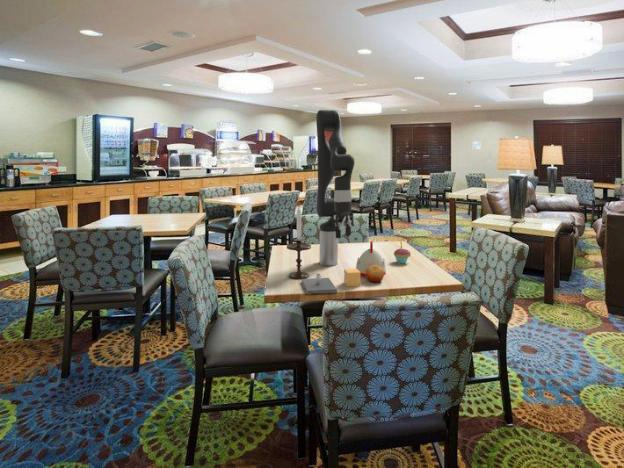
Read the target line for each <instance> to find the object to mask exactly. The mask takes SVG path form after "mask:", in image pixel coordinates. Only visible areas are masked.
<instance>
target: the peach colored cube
mask: <svg viewBox="0 0 624 468" xmlns="http://www.w3.org/2000/svg"><path fill="white" fill-rule="evenodd" d="M343 270H344V271H343V272H344V273H343V274H344V275H343V283H344V284H345V286H346V287H360V286H361V276H360V271H359V270H358V269H356V268H344V269H343Z"/></svg>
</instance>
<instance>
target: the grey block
mask: <svg viewBox="0 0 624 468" xmlns="http://www.w3.org/2000/svg"><path fill="white" fill-rule="evenodd" d="M315 275H316V276H315V277H313V278H306V279H301V284H302V286H303V285H304V286H303V288H304V287H305V288H304V290H305V289H306V290H305V292H306V291H307V292H306V294H307V293H322V294H337V292H338V289H337V288H336V286H335V285H334V283H333V282H332V280H331V279H330V278H329V277H322V275H321V272H320V273H319V272H317V273H316V274H315Z"/></svg>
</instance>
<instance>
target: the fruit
mask: <svg viewBox="0 0 624 468" xmlns="http://www.w3.org/2000/svg"><path fill="white" fill-rule="evenodd" d="M366 276H367V277H366V278H367V280H368V281H369V282H370V283H378V282H379V283H380V282H382V281H383V280H384V277H385V276H384V271H383V268H381V267H380V266H378V265H372V266H369V267H368V268H367V269H366Z"/></svg>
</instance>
